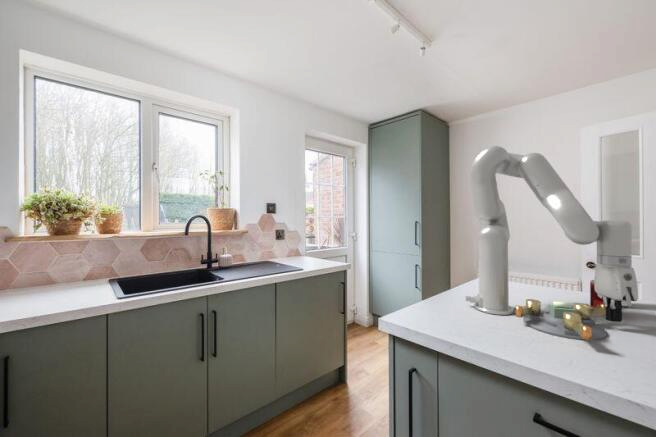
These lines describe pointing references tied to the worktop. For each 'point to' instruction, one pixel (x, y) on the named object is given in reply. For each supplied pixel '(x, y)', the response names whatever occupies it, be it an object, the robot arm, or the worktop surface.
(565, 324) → the knob
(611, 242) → the robot arm
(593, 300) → the canned food
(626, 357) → the worktop surface
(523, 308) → the knob
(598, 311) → the knob
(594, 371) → the worktop surface
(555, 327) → the tribrach
